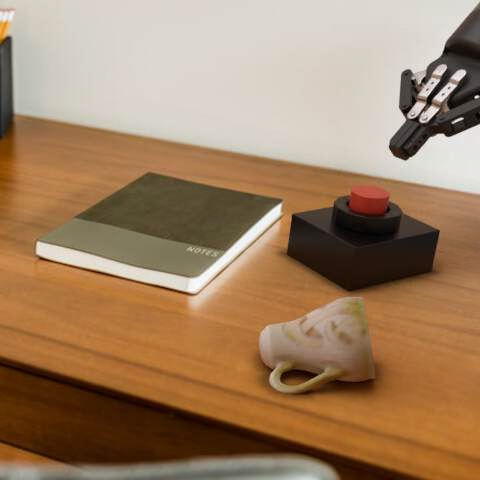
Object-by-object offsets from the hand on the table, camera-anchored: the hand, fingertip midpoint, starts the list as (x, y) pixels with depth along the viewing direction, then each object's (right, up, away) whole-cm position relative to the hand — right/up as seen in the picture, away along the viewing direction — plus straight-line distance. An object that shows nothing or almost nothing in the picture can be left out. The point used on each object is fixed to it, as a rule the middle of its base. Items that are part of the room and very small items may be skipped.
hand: (396, 154), depth 95 cm
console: (-3, -12, +4) cm, 13 cm away
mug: (-13, -21, -18) cm, 30 cm away
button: (-3, -6, +1) cm, 6 cm away
